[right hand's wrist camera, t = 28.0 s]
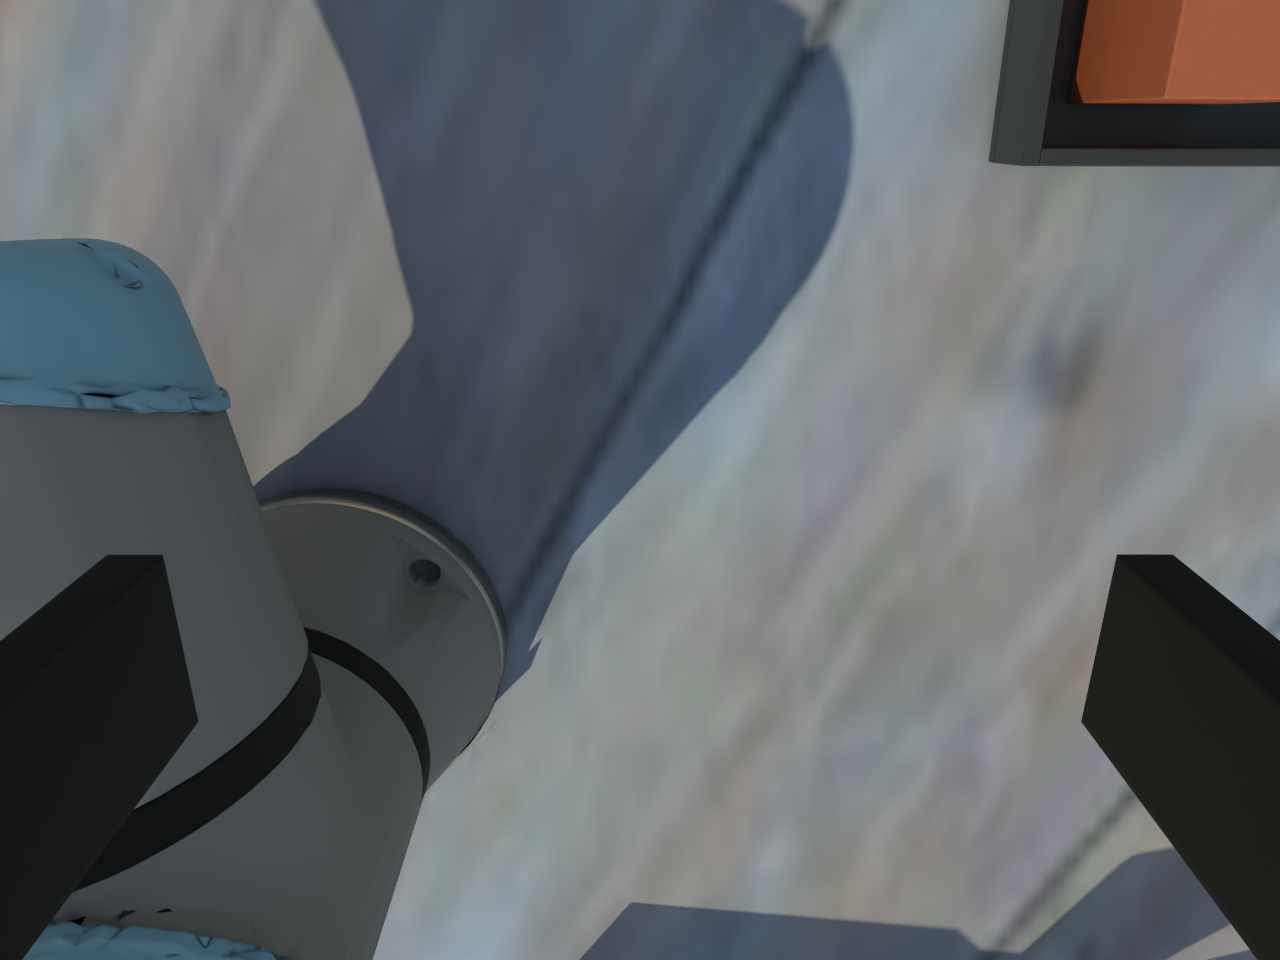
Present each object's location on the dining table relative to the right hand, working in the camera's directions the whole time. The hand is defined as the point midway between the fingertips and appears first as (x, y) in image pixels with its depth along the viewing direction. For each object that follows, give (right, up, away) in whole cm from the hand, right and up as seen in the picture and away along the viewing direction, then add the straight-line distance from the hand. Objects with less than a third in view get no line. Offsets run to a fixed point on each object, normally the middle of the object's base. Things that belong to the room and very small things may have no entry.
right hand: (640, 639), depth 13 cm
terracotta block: (+18, +19, +20) cm, 33 cm away
